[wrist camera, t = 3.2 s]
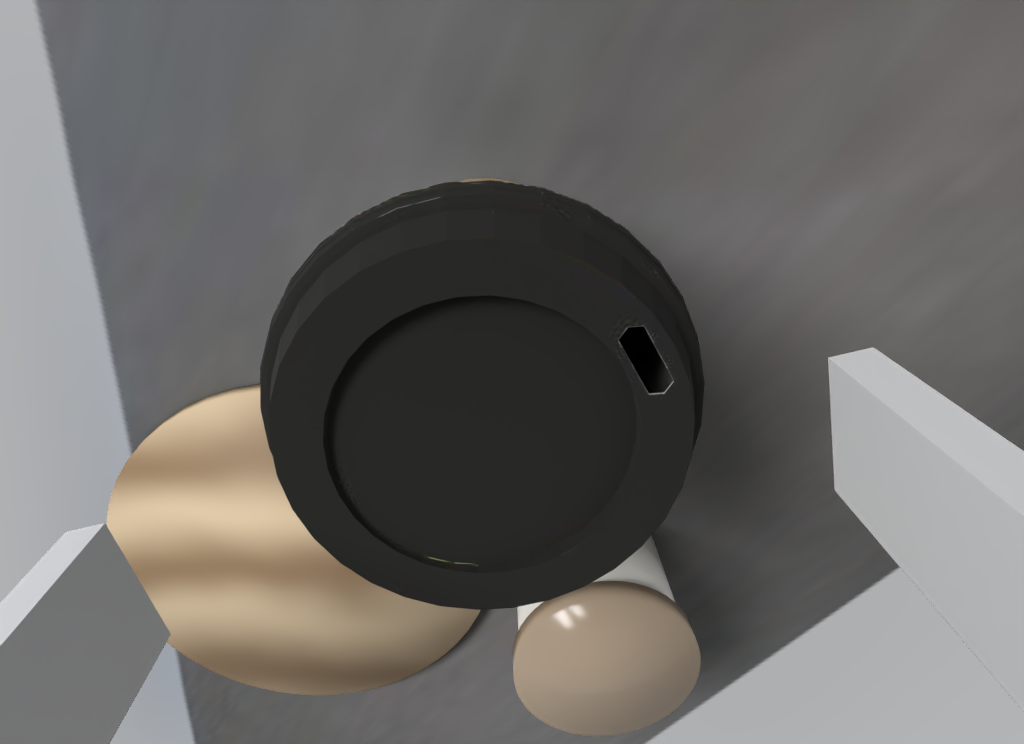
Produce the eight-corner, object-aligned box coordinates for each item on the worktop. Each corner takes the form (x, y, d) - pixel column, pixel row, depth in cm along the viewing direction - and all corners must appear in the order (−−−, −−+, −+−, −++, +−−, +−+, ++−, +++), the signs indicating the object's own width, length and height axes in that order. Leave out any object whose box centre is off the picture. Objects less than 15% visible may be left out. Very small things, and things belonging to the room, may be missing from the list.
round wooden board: (42, 433, 30) (30, 442, 29) (435, 340, 28) (433, 348, 28) (210, 709, 37) (205, 722, 36) (528, 645, 36) (529, 657, 35)
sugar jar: (492, 512, 32) (493, 621, 26) (648, 478, 32) (688, 581, 25) (527, 627, 35) (536, 750, 29) (669, 598, 35) (710, 716, 28)
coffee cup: (312, 214, 26) (120, 373, 12) (531, 74, 24) (586, 79, 11) (449, 406, 30) (416, 691, 16) (648, 296, 28) (801, 513, 14)
